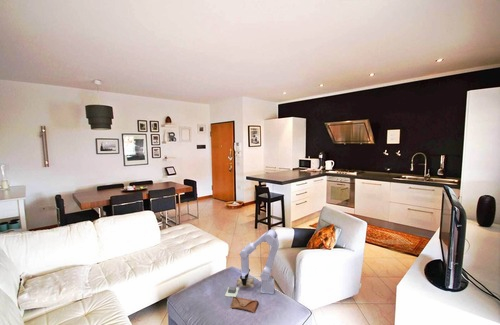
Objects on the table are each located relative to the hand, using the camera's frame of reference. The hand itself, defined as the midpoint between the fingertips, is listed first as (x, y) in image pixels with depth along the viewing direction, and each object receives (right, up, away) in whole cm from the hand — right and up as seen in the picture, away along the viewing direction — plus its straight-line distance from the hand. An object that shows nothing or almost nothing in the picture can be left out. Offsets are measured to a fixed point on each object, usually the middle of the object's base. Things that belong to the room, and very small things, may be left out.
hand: (245, 282), depth 169 cm
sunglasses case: (0, -5, -22) cm, 22 cm away
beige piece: (0, -3, 0) cm, 3 cm away
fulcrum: (-9, -3, -7) cm, 12 cm away
